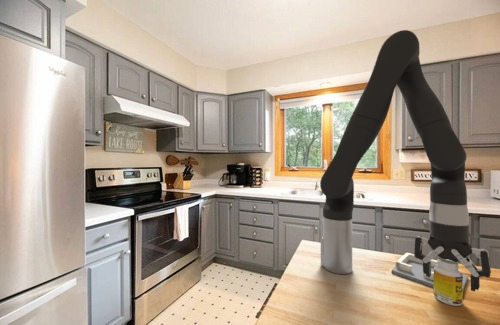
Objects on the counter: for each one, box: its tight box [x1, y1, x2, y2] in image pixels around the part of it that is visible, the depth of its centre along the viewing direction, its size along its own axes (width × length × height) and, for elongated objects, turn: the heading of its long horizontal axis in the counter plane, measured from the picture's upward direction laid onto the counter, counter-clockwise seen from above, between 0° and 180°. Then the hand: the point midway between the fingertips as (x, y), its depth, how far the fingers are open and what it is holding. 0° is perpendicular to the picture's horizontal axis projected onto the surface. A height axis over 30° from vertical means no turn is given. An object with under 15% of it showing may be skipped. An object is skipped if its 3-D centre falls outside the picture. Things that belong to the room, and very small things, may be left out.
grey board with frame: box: [391, 252, 469, 294], centre depth 67 cm, size 16×14×3 cm
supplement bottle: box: [433, 257, 464, 307], centre depth 56 cm, size 6×6×10 cm
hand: (449, 282), depth 56 cm, fingers open, 8 cm apart
